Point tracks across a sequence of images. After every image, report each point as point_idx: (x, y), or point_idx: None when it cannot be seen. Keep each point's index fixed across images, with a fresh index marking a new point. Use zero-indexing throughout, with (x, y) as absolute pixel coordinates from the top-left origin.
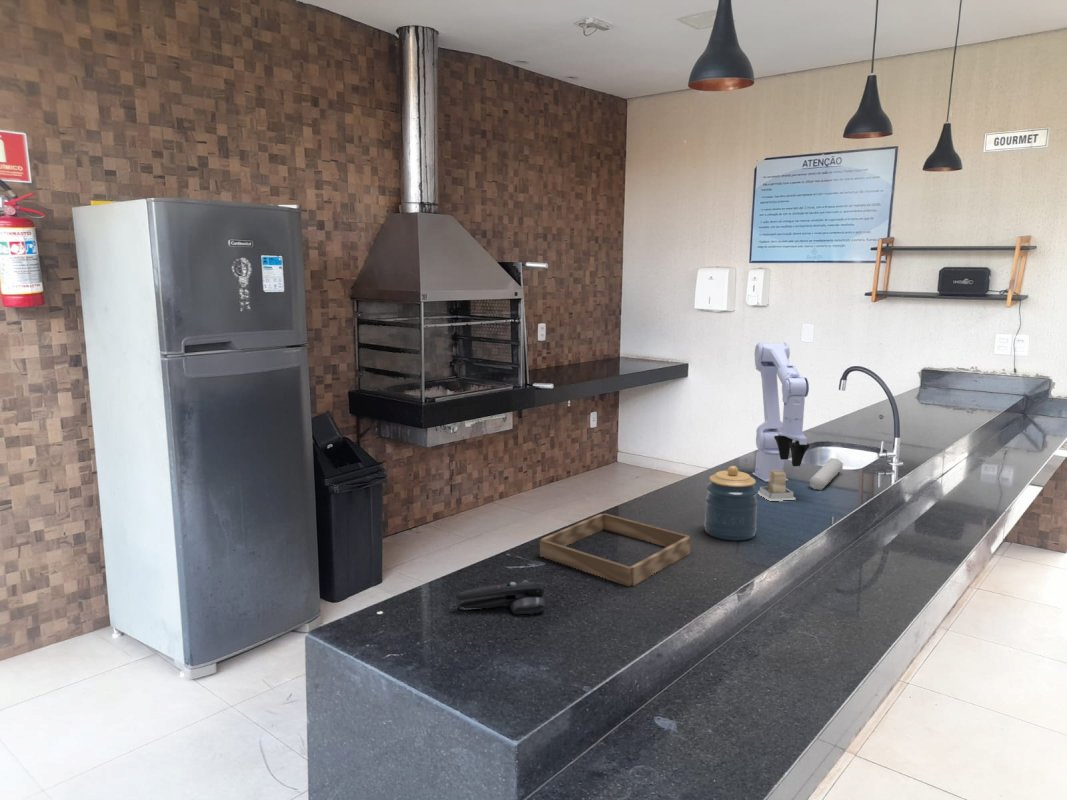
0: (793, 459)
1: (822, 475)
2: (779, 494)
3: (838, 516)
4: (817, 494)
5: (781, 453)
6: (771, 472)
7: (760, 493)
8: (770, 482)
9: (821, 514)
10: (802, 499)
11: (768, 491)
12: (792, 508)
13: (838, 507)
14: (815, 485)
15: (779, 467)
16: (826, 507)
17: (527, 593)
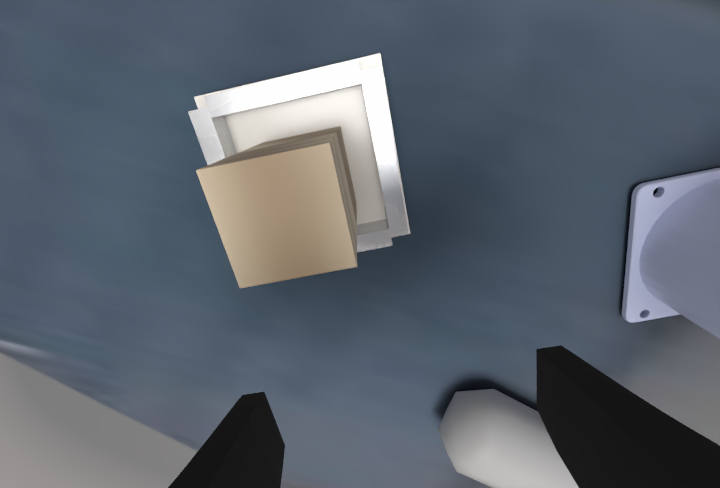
0: (184, 468)
1: (498, 484)
2: None
3: (51, 374)
4: (381, 382)
5: (584, 409)
6: (282, 150)
7: (331, 65)
8: (307, 137)
9: (52, 317)
10: (289, 299)
11: (251, 103)
12: (107, 205)
13: (190, 407)
14: (452, 410)
15: (711, 316)
16: (177, 365)
17: None
